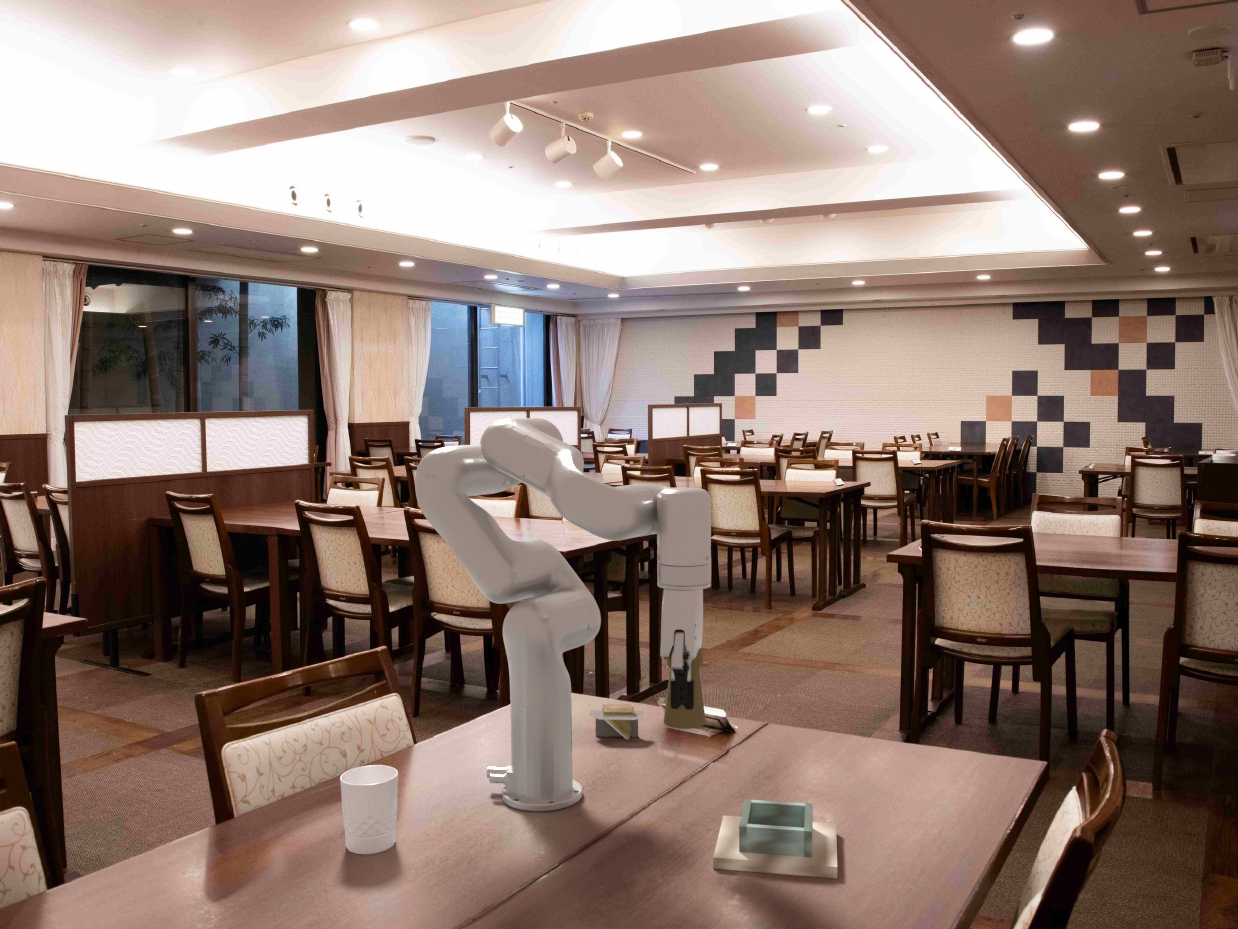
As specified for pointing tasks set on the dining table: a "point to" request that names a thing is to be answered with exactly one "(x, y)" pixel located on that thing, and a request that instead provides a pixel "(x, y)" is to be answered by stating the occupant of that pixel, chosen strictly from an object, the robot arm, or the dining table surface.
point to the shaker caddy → (777, 841)
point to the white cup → (369, 808)
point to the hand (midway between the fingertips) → (684, 702)
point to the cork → (682, 715)
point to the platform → (617, 721)
